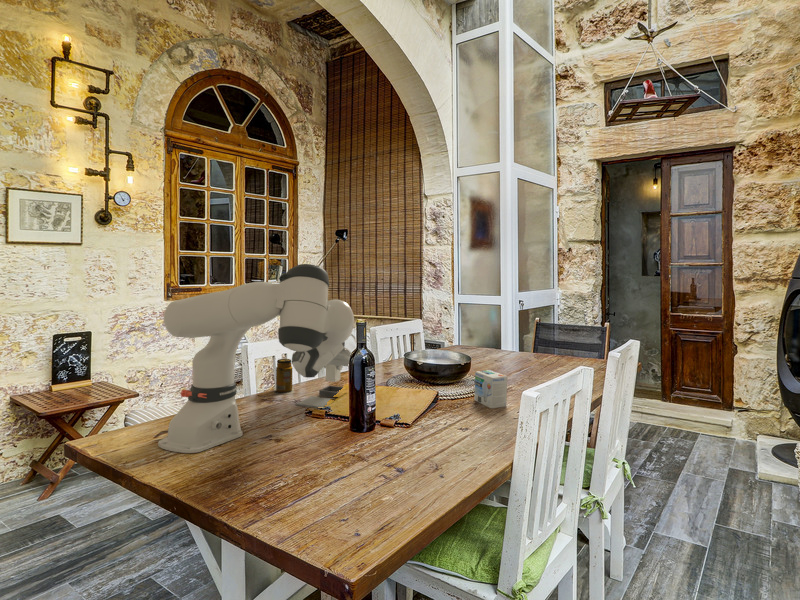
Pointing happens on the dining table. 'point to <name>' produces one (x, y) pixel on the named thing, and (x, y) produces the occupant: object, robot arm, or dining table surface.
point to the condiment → (284, 377)
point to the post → (332, 373)
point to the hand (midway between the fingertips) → (333, 367)
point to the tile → (314, 402)
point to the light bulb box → (490, 388)
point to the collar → (329, 391)
